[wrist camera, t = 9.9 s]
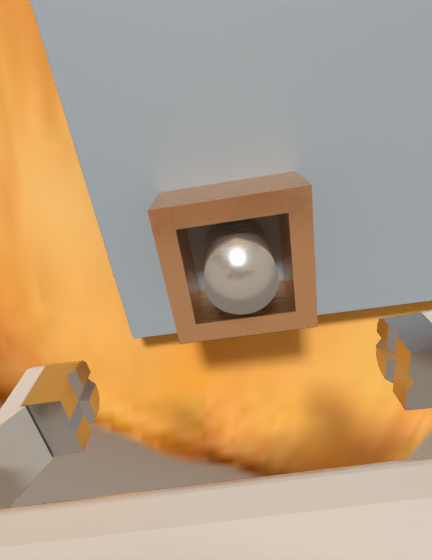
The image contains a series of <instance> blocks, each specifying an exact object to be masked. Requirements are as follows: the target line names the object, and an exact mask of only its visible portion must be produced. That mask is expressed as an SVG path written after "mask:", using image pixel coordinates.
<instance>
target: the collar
mask: <svg viewBox="0 0 432 560" xmlns="http://www.w3.org/2000/svg"><path fill="white" fill-rule="evenodd" d="M147 211H148V215H149V220H150V224H151V228H152V232H153V236H154V240H155V244H156V249H157V253H158V257H159V261H160V265H161V269H162V273H163V277H164V282H165V286H166V290H167V294H168V298H169V302H170V306H171V310H172V315H173V319H174V323H175V327H176V331H177V335H178V339H179V343H180V344H183V343H191V342H199V341H206V340H214V339H222V338H230V337H238V336H246V335H254V334H262V333H270V332H278V331H286V330H294V329H302V328H310V327H318V314H317V292H316V270H315V248H314V225H313V203H312V185H311V184H310V183H309V182H308V181H307V180H305V179H304V178H303V177H302V176H301V175H300V174H299V173H297V172H296V171H291V172H285V173H279V174H272V175H266V176H260V177H253V178H247V179H241V180H234V181H228V182H222V183H216V184H209V185H203V186H197V187H190V188H184V189H178V190H171V191H165V192H160V193H159V194H158V196H157V197H156V199H155V200H154V201H153V203H152V204H151V206H150V207H149V209H148V210H147ZM277 214H279V225H280V236H281V248H282V260H283V271H284V280H279V284H278V289H277V292H276V294H275V296H274V297H273V299H272V300H271V301H270V302H269V303H268V304H267V305H266V306H265V307H264V308H262V309H260V310H258V311H256V312H253V313H250V314H243V315H238V314H231V313H227V312H225V311H222V310H221V309H219V308H217V307H216V306H215V305H214V304H213V303H212V302H211V301H210V300H209V298H208V297H207V295H206V293H205V290H203V291H199V286H198V281H197V276H196V271H195V266H194V261H193V256H192V251H191V246H190V241H189V236H188V231H187V228H191V227H197V226H204V225H211V224H217V223H224V222H231V221H237V220H244V219H251V218H257V217H264V216H271V215H277Z"/></svg>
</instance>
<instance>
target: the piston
mask: <svg viewBox="0 0 432 560" xmlns="http://www.w3.org/2000/svg"><path fill="white" fill-rule="evenodd" d="M203 284H204V289H205V293H206V295H207V297H208V298H209V300H210V301H211V302H212V303H213V304H214V305H215V306H216V307H217V308H219V309H221V310H222V311H225V312H227V313H231V314H238V315H243V314H250V313H253V312H256V311H258V310H260V309H262V308H264V307H265V306H266V305H267V304H268V303H269V302H270V301H271V300H272V299H273V297H274V296H275V294H276V292H277V289H278V284H279V275H278V271H277V268H276V265H275V262H274V259H273V256H272V253H271V250H270V247H269V245H268V242H267V239H266V236H265V233H264V231H263V230H262V228H261V227H260V226H259V225H258V224H257V223H256V222H255V221H253V220H251V219H244V220H237V221H231V222H224V223H217V224H216V225H215V226H214V227H213V228H212V230H211V231H210V233H209V236H208V239H207V247H206V258H205V268H204V279H203Z"/></svg>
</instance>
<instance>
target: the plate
mask: <svg viewBox="0 0 432 560" xmlns="http://www.w3.org/2000/svg"><path fill="white" fill-rule="evenodd" d="M30 2H31V5H32V8H33V12H34V15H35V18H36V21H37V25H38V28H39V31H40V35H41V38H42V41H43V44H44V48H45V51H46V54H47V58H48V61H49V64H50V67H51V71H52V74H53V77H54V80H55V84H56V87H57V90H58V94H59V97H60V100H61V103H62V107H63V110H64V113H65V116H66V120H67V123H68V126H69V130H70V133H71V136H72V139H73V143H74V146H75V149H76V153H77V156H78V159H79V162H80V166H81V169H82V172H83V175H84V179H85V182H86V185H87V189H88V192H89V195H90V198H91V202H92V205H93V208H94V212H95V215H96V218H97V221H98V225H99V228H100V231H101V234H102V238H103V241H104V244H105V248H106V251H107V254H108V257H109V261H110V264H111V267H112V271H113V274H114V277H115V280H116V284H117V287H118V290H119V293H120V297H121V300H122V303H123V307H124V310H125V313H126V316H127V320H128V323H129V326H130V329H131V333H132V336H133V339H134V338H142V337H149V336H157V335H165V334H173V333H177V331H176V327H175V323H174V319H173V315H172V310H171V306H170V302H169V298H168V294H167V290H166V286H165V282H164V277H163V273H162V269H161V265H160V261H159V257H158V253H157V249H156V244H155V240H154V236H153V232H152V228H151V224H150V220H149V215H148V211H147V210H148V209H149V207H150V206H151V204H152V203H153V201H154V200H155V199H156V197H157V196H158V194H159V193H160V192H165V191H171V190H178V189H184V188H190V187H197V186H203V185H209V184H216V183H222V182H228V181H234V180H241V179H247V178H253V177H260V176H266V175H272V174H279V173H285V172H291V171H296V172H297V173H299V174H300V175H301V176H302V177H303V178H304V179H305V180H307V181H308V182H309V183H310V184H311V185H312V203H313V225H314V248H315V270H316V292H317V314H318V315H322V314H330V313H338V312H346V311H354V310H361V309H369V308H377V307H385V306H393V305H401V304H409V303H416V302H424V301H432V0H30ZM251 220H253V221H255V222H256V223H257V224H258V225H259V226H260V227H261V228H262V230H263V231H264V233H265V236H266V239H267V242H268V245H269V247H270V250H271V253H272V256H273V259H274V262H275V265H276V268H277V271H278V275H279V280H284V271H283V260H282V248H281V236H280V225H279V214H277V215H271V216H264V217H257V218H251ZM215 225H216V224H211V225H204V226H197V227H191V228H187V231H188V236H189V241H190V246H191V251H192V256H193V261H194V266H195V271H196V276H197V281H198V286H199V291H203V290H205V289H204V284H203V279H204V268H205V258H206V247H207V239H208V236H209V233H210V231H211V230H212V228H213V227H214V226H215Z"/></svg>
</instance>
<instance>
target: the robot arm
mask: <svg viewBox="0 0 432 560" xmlns="http://www.w3.org/2000/svg"><path fill="white" fill-rule="evenodd" d="M377 332H378V334H379V335H380V337H381V338H382V339H381V340H380V341H379V342H378V344H377V345H376V356H377V361H378V366H379V368H380V370H381V373H382V374H383V376H384V378H385V379H386V380H388V381H390V382H392V383H394V384H393V392H394V394H395V395H396V397H397V398H398V400H399V401H400V403H401V404H402V406H403V408H404V409H405V410H415V409H425V408H432V310H428V311H422V312H417V313H413V314H407V315H400V316H393V317H387V318H380V319H379V321H378V323H377ZM89 374H90V369H89V367H88V365H87V363H86V362H84V361H74V362H66V363H57V364H49V365H42V366H35V367H31V368H29V369H27V371H26V372H25V373H24V375H23V376H22V378H21V379H20V381H19V382H18V384H17V385H16V387H15V388H14V390H13V391H12V393H11V394H10V396H9V397H8V399H7V400H6V402H5V403H4V405H3V406H2V408H1V409H0V560H432V456H429V457H421V458H413V459H405V460H396V461H388V462H380V463H371V464H363V465H355V466H346V467H338V468H330V469H321V470H313V471H305V472H296V473H288V474H280V475H272V476H263V477H255V478H247V479H239V480H231V481H223V482H214V483H207V484H198V485H191V486H182V487H174V488H167V489H157V490H149V491H141V492H133V493H125V494H116V495H108V496H100V497H92V498H84V499H75V500H67V501H59V502H51V503H43V504H34V505H26V506H18V507H10V505H11V504H12V503H13V502H14V501H15V500H16V499H17V498H18V497H19V496H20V494H21V493H22V492H23V491H24V490H25V489H26V488H27V487H28V485H29V484H30V483H31V482H32V481H33V480H34V479H35V478H36V476H38V474H39V473H40V472H41V471H42V470H43V469H44V468H45V467H46V466H47V464H48V463H49V462H50V461H51V460H52V459H53V457H54V456H61V455H67V454H73V453H80V452H84V450H85V448H86V445H87V442H88V439H89V436H90V434H91V429H90V426H89V424H90V423H91V422H92V421H93V420H94V419H95V418H96V416H97V413H98V410H99V393H98V389H97V387H96V384H95V383H93V382H92V381H90V380H89V379H88V377H89ZM9 507H10V508H9Z"/></svg>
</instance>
